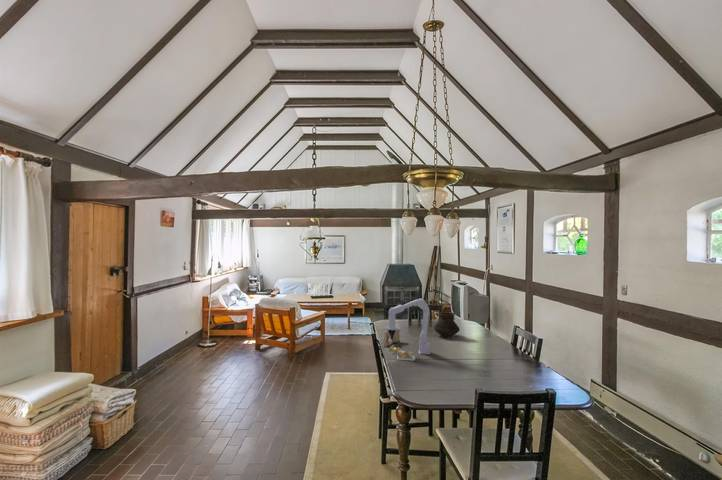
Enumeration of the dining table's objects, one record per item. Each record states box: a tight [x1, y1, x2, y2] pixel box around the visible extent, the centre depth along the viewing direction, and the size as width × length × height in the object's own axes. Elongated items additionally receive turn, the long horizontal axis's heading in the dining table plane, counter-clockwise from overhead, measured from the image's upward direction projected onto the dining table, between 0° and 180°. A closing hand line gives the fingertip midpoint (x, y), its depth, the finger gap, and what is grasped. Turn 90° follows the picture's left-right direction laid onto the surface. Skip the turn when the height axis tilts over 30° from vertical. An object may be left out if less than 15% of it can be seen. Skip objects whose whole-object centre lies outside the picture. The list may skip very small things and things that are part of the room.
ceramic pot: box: [433, 311, 461, 338], centre depth 360 cm, size 24×24×22 cm
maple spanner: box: [397, 350, 413, 358], centre depth 289 cm, size 11×4×4 cm, turn 82°
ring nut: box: [389, 345, 401, 352], centre depth 305 cm, size 8×6×3 cm
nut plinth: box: [390, 349, 403, 355], centre depth 305 cm, size 9×9×1 cm
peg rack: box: [396, 354, 416, 362], centre depth 289 cm, size 14×8×4 cm, turn 82°
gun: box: [382, 326, 402, 348], centre depth 332 cm, size 24×3×15 cm, turn 143°
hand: (392, 339), depth 309 cm, fingers closed
